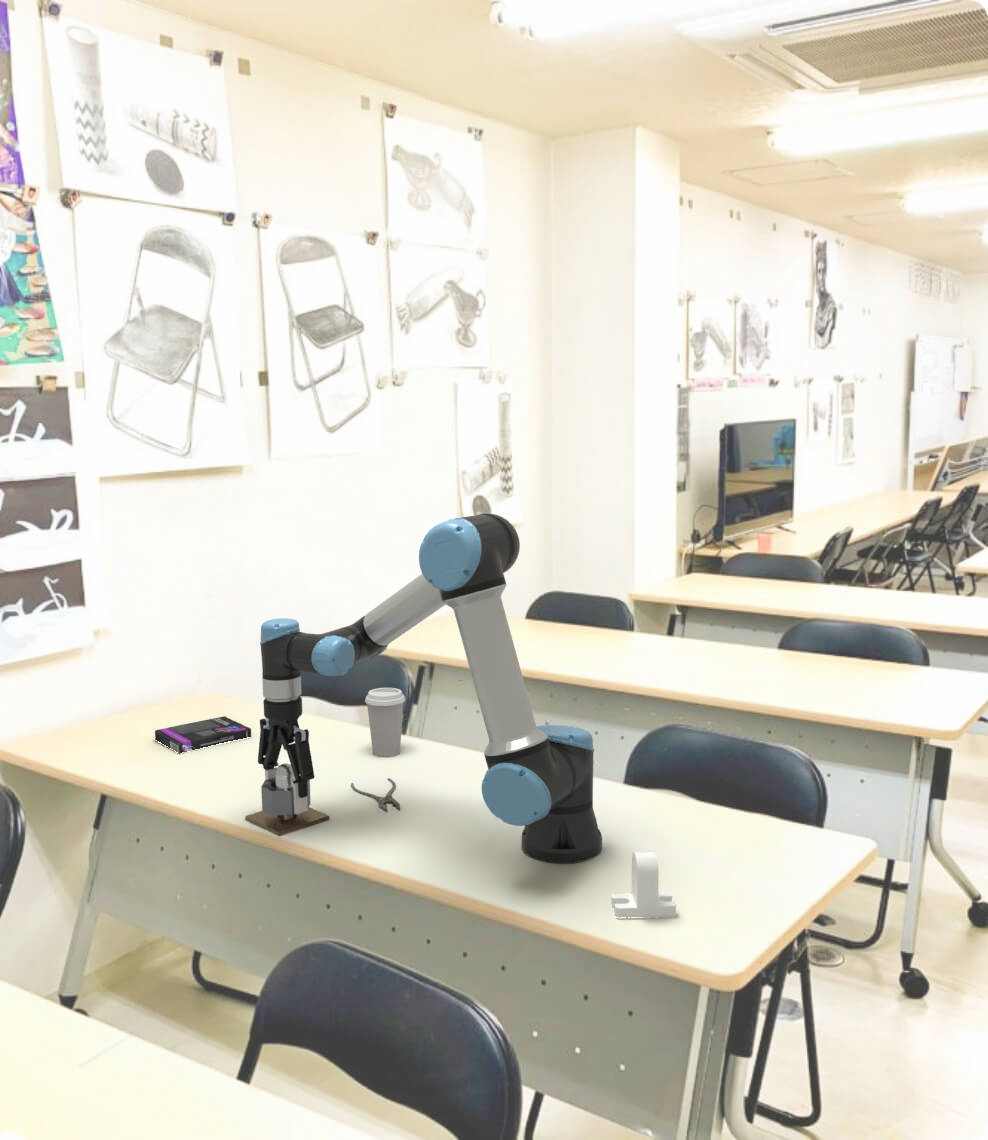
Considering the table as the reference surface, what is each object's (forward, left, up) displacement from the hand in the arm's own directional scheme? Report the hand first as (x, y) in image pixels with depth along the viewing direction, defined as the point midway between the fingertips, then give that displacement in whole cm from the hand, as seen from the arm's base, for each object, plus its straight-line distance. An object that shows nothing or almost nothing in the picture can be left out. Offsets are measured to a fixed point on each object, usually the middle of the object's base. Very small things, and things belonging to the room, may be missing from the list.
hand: (287, 805), depth 223 cm
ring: (0, 0, 0) cm, 0 cm away
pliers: (-3, -23, -4) cm, 24 cm away
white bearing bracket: (-76, -18, -3) cm, 78 cm away
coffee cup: (+19, -41, -3) cm, 45 cm away
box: (+61, -16, -4) cm, 63 cm away
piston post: (0, 0, -3) cm, 3 cm away
